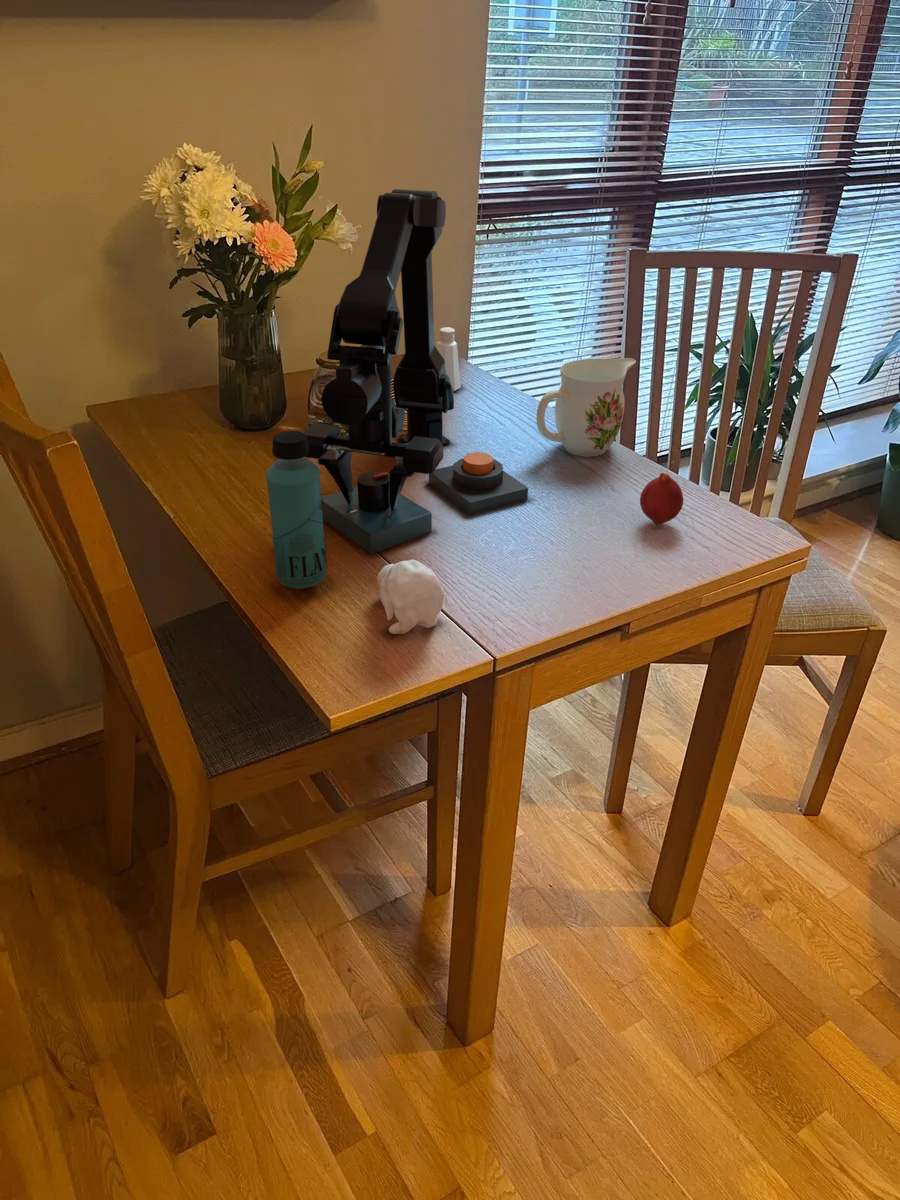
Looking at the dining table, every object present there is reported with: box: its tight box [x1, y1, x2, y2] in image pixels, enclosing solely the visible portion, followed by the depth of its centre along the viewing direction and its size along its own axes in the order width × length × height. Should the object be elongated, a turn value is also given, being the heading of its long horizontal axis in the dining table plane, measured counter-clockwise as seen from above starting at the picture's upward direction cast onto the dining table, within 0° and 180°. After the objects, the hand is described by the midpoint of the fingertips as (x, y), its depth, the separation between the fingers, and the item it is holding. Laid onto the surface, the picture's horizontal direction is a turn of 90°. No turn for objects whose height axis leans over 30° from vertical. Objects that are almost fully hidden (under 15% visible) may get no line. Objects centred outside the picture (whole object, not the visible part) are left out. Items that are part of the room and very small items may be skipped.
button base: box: [428, 458, 529, 516], centre depth 136 cm, size 12×10×4 cm
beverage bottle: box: [265, 430, 329, 589], centre depth 109 cm, size 6×7×20 cm
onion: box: [639, 471, 684, 526], centre depth 127 cm, size 6×6×8 cm
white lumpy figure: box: [374, 559, 445, 635], centre depth 107 cm, size 6×8×12 cm
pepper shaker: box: [435, 326, 462, 392], centre depth 171 cm, size 5×5×11 cm
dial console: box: [321, 485, 433, 555], centre depth 128 cm, size 13×10×3 cm
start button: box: [462, 451, 494, 474], centre depth 135 cm, size 4×4×2 cm
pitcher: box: [536, 357, 637, 457], centre depth 147 cm, size 11×18×14 cm, turn 119°
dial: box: [356, 471, 390, 512], centre depth 126 cm, size 4×4×4 cm
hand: (371, 505), depth 127 cm, fingers open, 6 cm apart
